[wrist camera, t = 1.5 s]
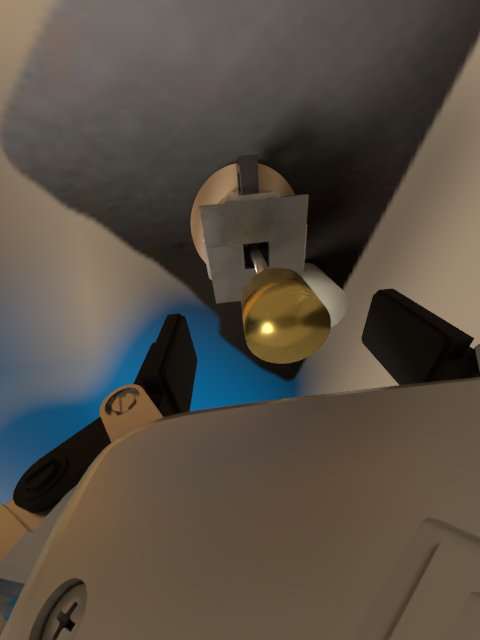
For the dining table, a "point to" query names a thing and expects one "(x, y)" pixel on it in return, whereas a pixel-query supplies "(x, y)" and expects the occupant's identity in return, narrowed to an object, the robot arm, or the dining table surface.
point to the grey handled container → (251, 231)
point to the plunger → (281, 311)
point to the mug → (326, 292)
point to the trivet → (227, 183)
